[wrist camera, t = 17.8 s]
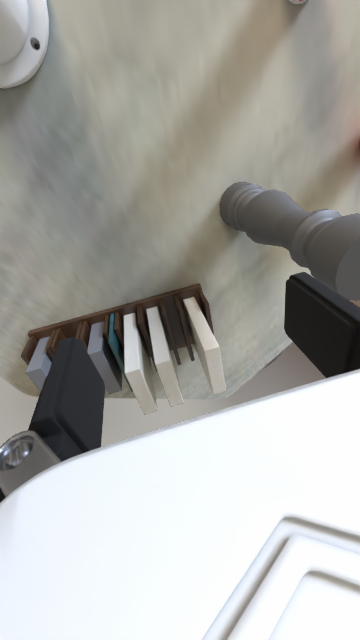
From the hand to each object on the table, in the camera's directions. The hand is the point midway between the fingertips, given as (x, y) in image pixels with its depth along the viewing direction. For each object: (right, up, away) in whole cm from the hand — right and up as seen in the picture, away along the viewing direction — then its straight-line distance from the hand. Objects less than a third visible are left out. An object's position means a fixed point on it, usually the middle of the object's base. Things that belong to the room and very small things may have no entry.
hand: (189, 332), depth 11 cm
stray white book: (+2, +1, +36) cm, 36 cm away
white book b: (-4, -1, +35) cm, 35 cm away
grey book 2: (-13, -4, +35) cm, 38 cm away
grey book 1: (-22, -6, +34) cm, 41 cm away
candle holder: (+8, +18, +27) cm, 34 cm away
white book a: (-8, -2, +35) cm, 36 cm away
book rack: (-10, -2, +36) cm, 37 cm away
